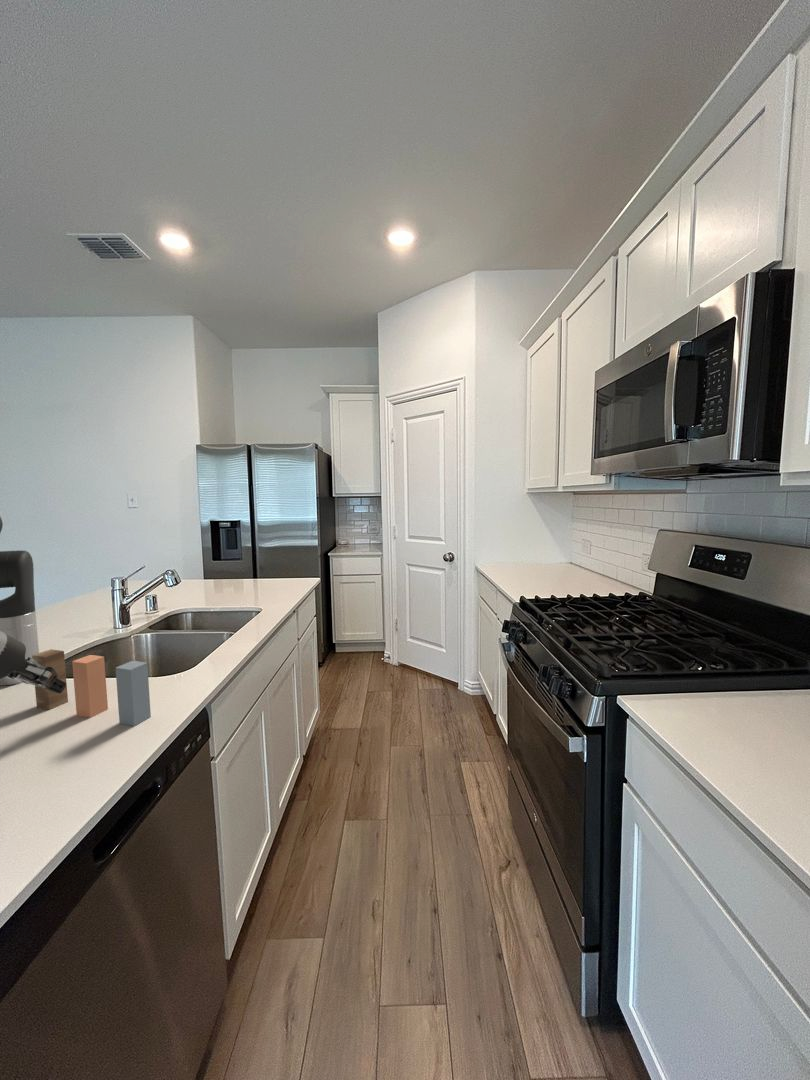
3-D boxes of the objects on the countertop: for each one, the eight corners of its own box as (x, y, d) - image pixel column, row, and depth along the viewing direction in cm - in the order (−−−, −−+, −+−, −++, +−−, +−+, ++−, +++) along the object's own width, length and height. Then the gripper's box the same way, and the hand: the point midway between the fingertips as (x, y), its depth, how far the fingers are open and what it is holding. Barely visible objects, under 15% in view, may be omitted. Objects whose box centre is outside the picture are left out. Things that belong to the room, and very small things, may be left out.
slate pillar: (119, 723, 92) (115, 667, 91) (136, 714, 96) (132, 660, 95) (134, 726, 91) (130, 669, 90) (150, 716, 95) (147, 662, 94)
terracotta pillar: (76, 714, 96) (72, 661, 94) (94, 706, 100) (90, 654, 98) (90, 717, 95) (86, 663, 93) (108, 709, 98) (104, 656, 97)
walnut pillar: (36, 707, 99) (32, 655, 98) (55, 699, 103) (51, 649, 102) (49, 709, 98) (45, 657, 97) (68, 701, 102) (63, 651, 101)
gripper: (25, 634, 78) (97, 674, 91) (-25, 628, 82) (50, 667, 95) (-7, 675, 73) (73, 711, 86) (-59, 666, 77) (25, 702, 90)
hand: (61, 688), depth 90 cm, fingers closed
